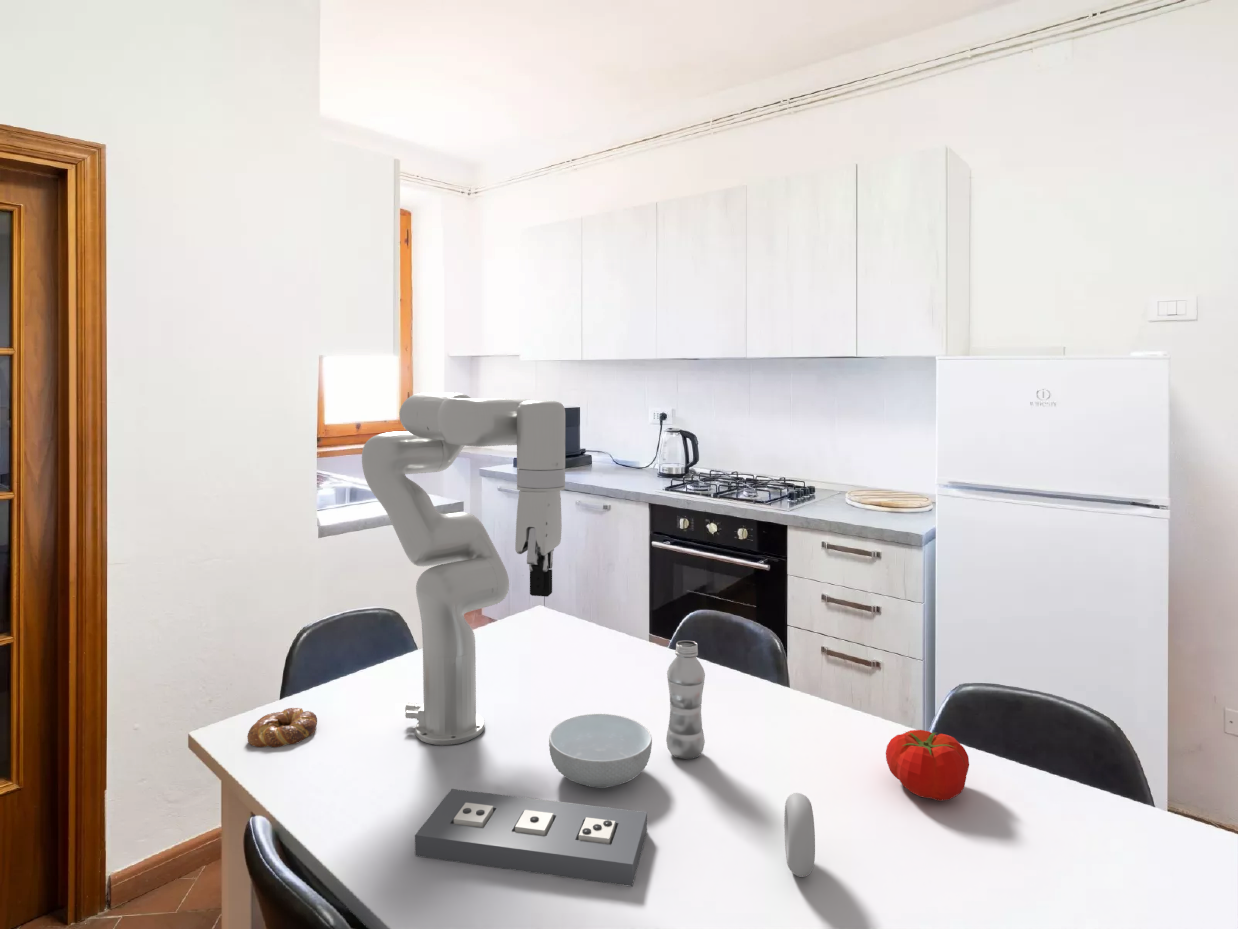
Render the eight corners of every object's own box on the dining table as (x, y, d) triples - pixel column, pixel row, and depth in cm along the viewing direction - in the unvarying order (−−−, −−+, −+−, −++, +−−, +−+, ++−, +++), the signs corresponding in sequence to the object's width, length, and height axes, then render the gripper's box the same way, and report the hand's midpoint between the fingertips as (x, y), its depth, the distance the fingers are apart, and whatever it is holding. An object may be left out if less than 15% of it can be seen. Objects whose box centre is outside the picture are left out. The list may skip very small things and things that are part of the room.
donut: (781, 845, 102) (784, 777, 101) (807, 847, 102) (809, 779, 101) (787, 892, 92) (790, 817, 91) (815, 895, 92) (818, 820, 91)
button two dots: (453, 835, 102) (453, 817, 102) (465, 818, 106) (465, 801, 106) (482, 838, 101) (482, 821, 101) (493, 821, 105) (493, 804, 105)
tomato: (904, 760, 127) (907, 711, 126) (980, 788, 118) (984, 736, 117) (867, 789, 117) (869, 737, 116) (947, 822, 108) (950, 765, 107)
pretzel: (256, 758, 126) (255, 737, 126) (240, 735, 134) (239, 716, 134) (327, 736, 134) (326, 717, 133) (307, 716, 142) (306, 698, 142)
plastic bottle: (702, 765, 124) (705, 651, 122) (663, 761, 125) (665, 648, 124) (705, 748, 130) (708, 639, 129) (668, 744, 132) (670, 636, 130)
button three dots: (578, 851, 99) (578, 833, 98) (585, 833, 103) (586, 816, 102) (608, 855, 98) (609, 837, 97) (615, 837, 102) (615, 819, 102)
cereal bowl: (573, 814, 109) (574, 769, 109) (534, 764, 124) (534, 724, 123) (670, 787, 117) (671, 745, 116) (622, 743, 132) (622, 706, 131)
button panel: (415, 855, 99) (414, 835, 99) (451, 807, 111) (451, 788, 110) (632, 886, 93) (632, 864, 93) (646, 832, 105) (647, 812, 105)
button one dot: (515, 843, 100) (515, 825, 100) (524, 825, 104) (524, 808, 104) (544, 847, 99) (544, 829, 99) (553, 829, 104) (553, 812, 103)
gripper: (532, 474, 122) (532, 581, 124) (501, 484, 107) (502, 606, 109) (576, 475, 120) (575, 584, 122) (550, 486, 106) (550, 609, 108)
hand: (541, 594), depth 116 cm, fingers closed
